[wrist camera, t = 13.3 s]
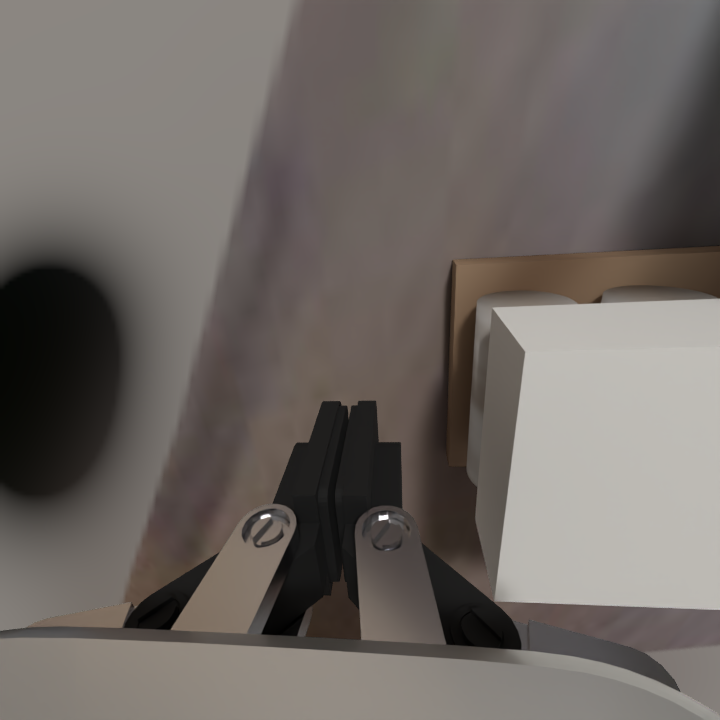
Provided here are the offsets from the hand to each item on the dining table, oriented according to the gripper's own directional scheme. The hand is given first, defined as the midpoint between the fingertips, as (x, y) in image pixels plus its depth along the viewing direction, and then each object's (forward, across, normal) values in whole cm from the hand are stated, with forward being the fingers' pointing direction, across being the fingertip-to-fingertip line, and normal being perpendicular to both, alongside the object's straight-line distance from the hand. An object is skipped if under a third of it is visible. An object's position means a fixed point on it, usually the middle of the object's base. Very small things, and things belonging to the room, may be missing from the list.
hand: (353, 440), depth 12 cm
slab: (+1, -8, 0) cm, 8 cm away
